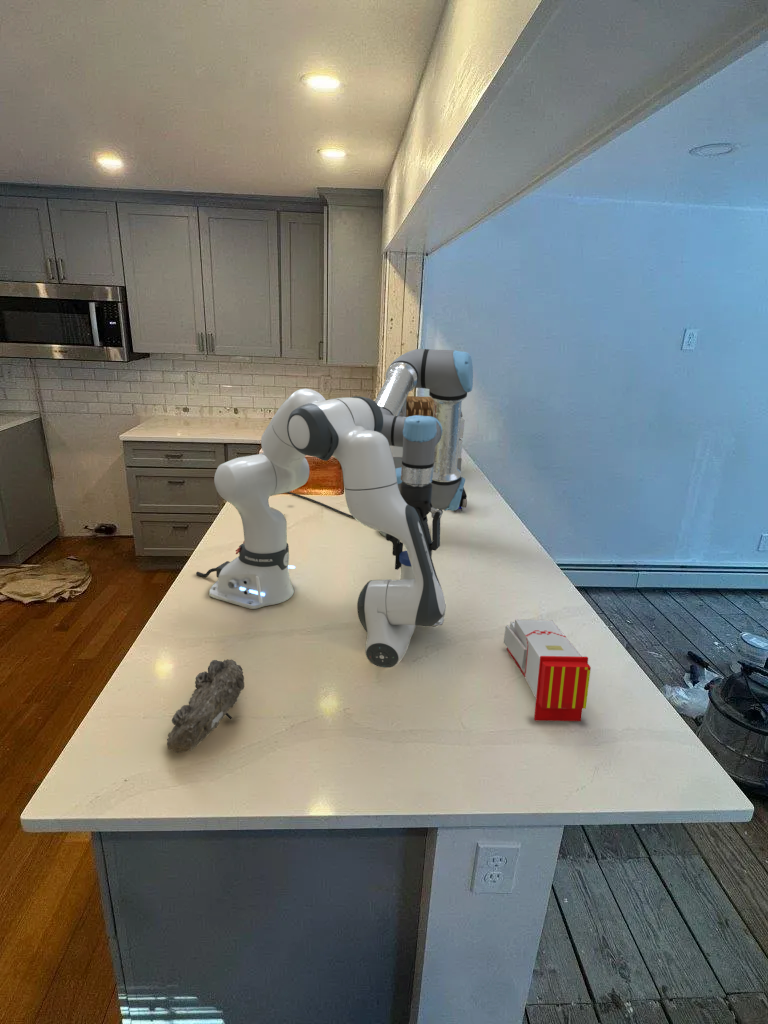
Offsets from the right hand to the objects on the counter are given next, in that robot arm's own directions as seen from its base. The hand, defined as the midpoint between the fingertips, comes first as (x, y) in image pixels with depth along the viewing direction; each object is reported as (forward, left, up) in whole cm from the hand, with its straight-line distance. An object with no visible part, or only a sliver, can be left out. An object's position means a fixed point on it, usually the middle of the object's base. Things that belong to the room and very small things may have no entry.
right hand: (410, 570), depth 142 cm
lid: (0, 0, +4) cm, 4 cm away
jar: (0, 0, -13) cm, 13 cm away
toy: (+37, +5, -13) cm, 39 cm away
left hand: (-1, +1, -7) cm, 7 cm away
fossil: (+5, -56, -13) cm, 58 cm away
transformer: (-96, +97, -13) cm, 137 cm away
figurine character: (-51, +75, -13) cm, 92 cm away
